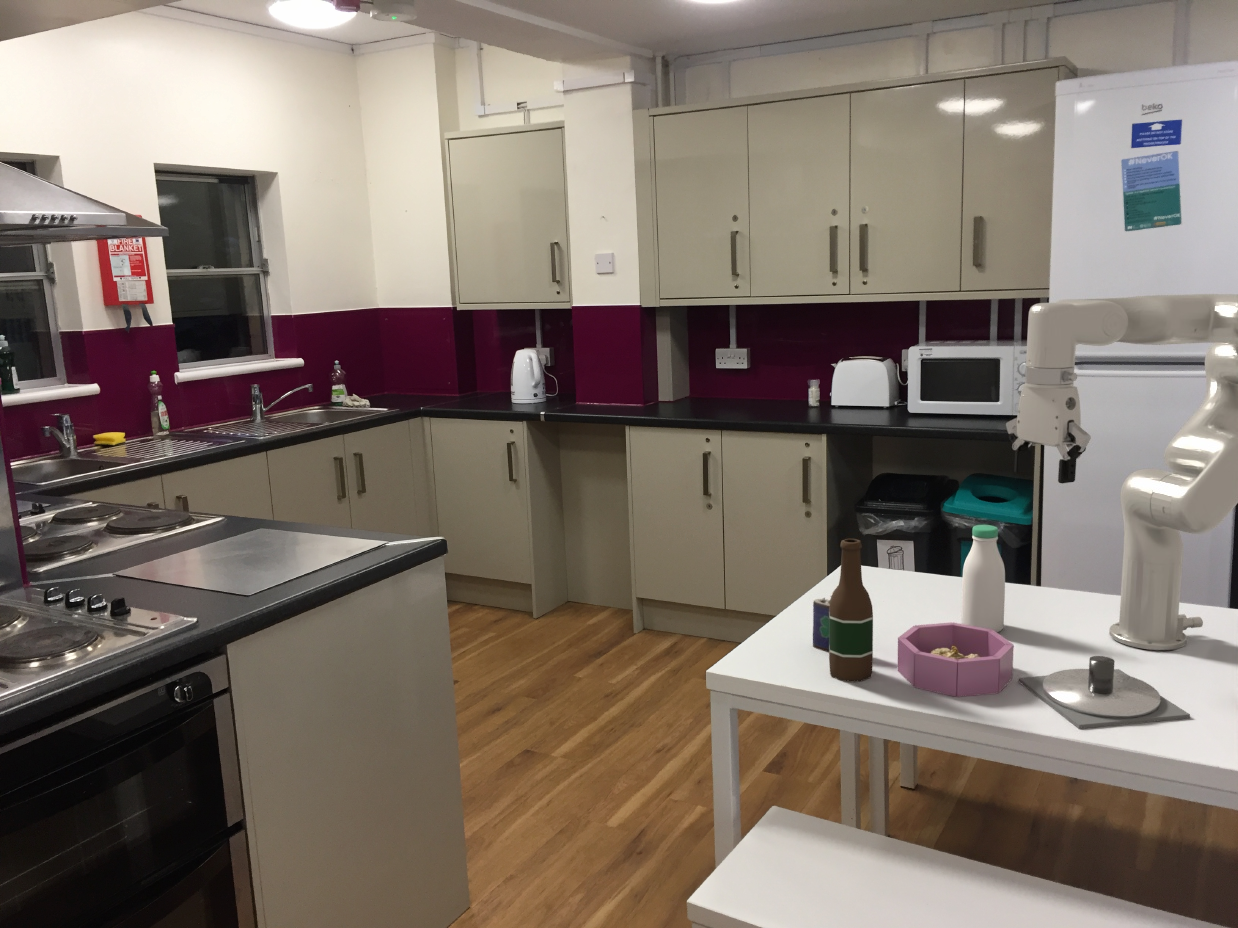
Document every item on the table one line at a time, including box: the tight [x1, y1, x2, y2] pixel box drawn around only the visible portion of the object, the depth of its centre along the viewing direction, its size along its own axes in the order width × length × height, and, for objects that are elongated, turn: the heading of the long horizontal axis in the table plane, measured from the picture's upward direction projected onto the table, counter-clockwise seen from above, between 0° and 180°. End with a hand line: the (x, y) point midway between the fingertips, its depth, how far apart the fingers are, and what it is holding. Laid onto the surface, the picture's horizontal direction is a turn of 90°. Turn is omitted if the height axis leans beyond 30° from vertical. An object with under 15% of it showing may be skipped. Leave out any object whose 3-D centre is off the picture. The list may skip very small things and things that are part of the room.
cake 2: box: [930, 646, 980, 659], centre depth 173 cm, size 10×10×5 cm
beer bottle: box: [828, 538, 874, 683], centre depth 173 cm, size 8×8×24 cm
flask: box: [812, 594, 832, 653], centre depth 185 cm, size 9×3×11 cm, turn 50°
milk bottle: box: [960, 524, 1006, 633], centre depth 193 cm, size 8×8×20 cm
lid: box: [1043, 655, 1161, 719], centre depth 161 cm, size 17×17×6 cm
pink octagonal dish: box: [897, 622, 1015, 698], centre depth 173 cm, size 17×17×6 cm
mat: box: [1017, 668, 1191, 730], centre depth 162 cm, size 18×18×1 cm
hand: (1043, 477), depth 172 cm, fingers open, 9 cm apart
